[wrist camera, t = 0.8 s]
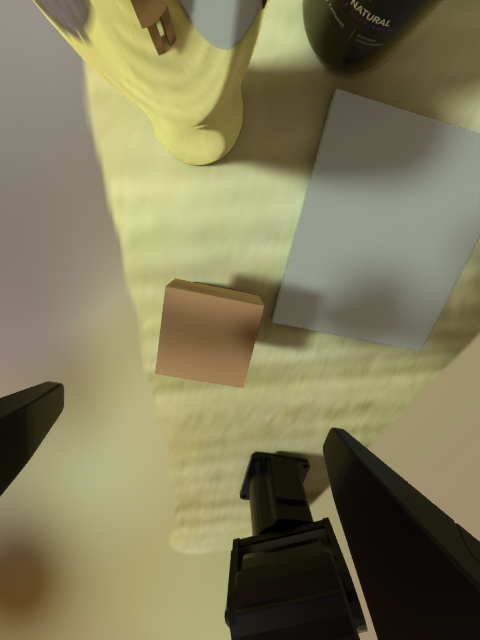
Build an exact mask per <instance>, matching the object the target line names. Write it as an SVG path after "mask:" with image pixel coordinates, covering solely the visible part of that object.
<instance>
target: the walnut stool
mask: <svg viewBox="0 0 480 640" xmlns="http://www.w3.org/2000/svg"><path fill="white" fill-rule="evenodd" d="M263 310H264V304H263V302H262V300H261V298H260V297H259V296H258V295H254V294H249V293H244V292H242V291H237V290H232V289H227V288H225V289H224V288H219V287H214V286H211V285H208V284H203V283H198V282H190V281H185V280H180V279H174V280H173V281H172V282H170V283H169V284H168V285H167V286H166V287H165V295H164V304H163V312H162V321H161V329H160V338H159V346H158V354H157V363H156V371H155V374H159V375H165V376H172V377H178V378H184V379H191V380H197V381H203V382H210V383H216V384H222V385H229V386H235V387H241V388H243V387H244V383H245V379H246V375H247V371H248V367H249V363H250V360H251V356H252V352H253V348H254V344H255V340H256V337H257V333H258V329H259V325H260V321H261V317H262V313H263Z"/></svg>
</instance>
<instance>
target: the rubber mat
mask: <svg viewBox="0 0 480 640" xmlns="http://www.w3.org/2000/svg"><path fill="white" fill-rule="evenodd" d="M479 237H480V134H479V133H476V132H473V131H470V130H467V129H464V128H461V127H457V126H454V125H451V124H448V123H445V122H442V121H438V120H435V119H432V118H429V117H426V116H423V115H419V114H416V113H413V112H410V111H407V110H404V109H400V108H397V107H394V106H391V105H388V104H385V103H381V102H378V101H375V100H372V99H369V98H366V97H363V96H359V95H356V94H353V93H350V92H347V91H344V90H340V89H337V90H336V91H335V92H334V94H333V97H332V101H331V104H330V108H329V112H328V115H327V119H326V122H325V126H324V130H323V133H322V137H321V141H320V144H319V148H318V152H317V155H316V159H315V162H314V166H313V170H312V173H311V177H310V181H309V184H308V188H307V192H306V195H305V199H304V203H303V206H302V210H301V213H300V217H299V221H298V224H297V228H296V232H295V235H294V239H293V243H292V246H291V250H290V253H289V257H288V261H287V264H286V268H285V272H284V275H283V279H282V283H281V286H280V290H279V293H278V297H277V301H276V304H275V308H274V312H273V315H272V319H271V321H272V323H277V324H282V325H287V326H293V327H298V328H303V329H308V330H313V331H319V332H324V333H329V334H334V335H339V336H344V337H350V338H355V339H360V340H365V341H370V342H376V343H381V344H386V345H391V346H396V347H402V348H407V349H412V350H417V351H421V350H422V348H423V346H424V344H425V342H426V340H427V338H428V336H429V334H430V332H431V331H432V329H433V327H434V325H435V323H436V321H437V319H438V317H439V315H440V313H441V311H442V309H443V307H444V305H445V303H446V301H447V299H448V297H449V295H450V293H451V291H452V289H453V287H454V285H455V284H456V282H457V280H458V278H459V276H460V274H461V272H462V270H463V268H464V266H465V264H466V262H467V260H468V258H469V256H470V254H471V252H472V250H473V248H474V246H475V244H476V242H477V240H478V238H479Z"/></svg>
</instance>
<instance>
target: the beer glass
mask: <svg viewBox="0 0 480 640" xmlns="http://www.w3.org/2000/svg"><path fill="white" fill-rule="evenodd" d="M33 1H34V3H35V4H36V5H37V6H38V8H39V9H40V10H41V12H42V13H43V14H44V15H45V16H46V17H47V19H48V20H49V21H50V22H51V23H52V24H53V26H54V27H55V28H56V29H57V30H58V31H59V32H60V33H61V35H62V36H63V37H64V38H65V39H66V40H67V41H68V42H69V44H70V45H71V46H72V47H73V48H74V49H75V50H76V51H77V52H78V54H79V55H80V56H81V57H82V58H83V59H84V60H85V61H86V62H87V63H88V64H89V65H90V66H91V67H92V68H93V69H94V70H95V71H96V72H97V73H98V74H99V75H101V76H102V77H103V78H104V79H105V80H106V81H107V82H108V83H109V84H110V85H112V86H113V87H114V88H115V89H116V90H117V91H118V92H119V93H121V94H122V95H123V96H125V97H126V98H127V99H128V100H130V101H131V102H132V103H134V104H135V105H136V106H137V107H139V108H140V109H141V110H143V111H144V112H145V113H147V114H148V115H149V118H150V121H151V124H152V127H153V130H154V132H155V134H156V136H157V138H158V140H159V141H160V143H161V144H162V145H163V147H164V148H165V149H166V150H167V151H168V152H169V153H170V154H171V155H173V156H174V157H176V158H177V159H179V160H181V161H183V162H185V163H189V164H193V165H206V164H210V163H213V162H215V161H217V160H219V159H221V158H222V157H223V156H225V155H226V154H227V153H228V152H229V151H230V149H231V148H232V147H233V145H234V144H235V142H236V140H237V138H238V135H239V133H240V130H241V126H242V120H243V99H242V93H241V89H240V85H241V82H242V80H243V78H244V75H245V73H246V70H247V68H248V65H249V63H250V60H251V58H252V55H253V53H254V50H255V47H256V44H257V41H258V38H259V34H260V31H261V28H262V25H263V22H264V19H265V15H266V12H267V9H268V5H269V1H270V0H33Z"/></svg>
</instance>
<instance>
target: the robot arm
mask: <svg viewBox="0 0 480 640" xmlns="http://www.w3.org/2000/svg"><path fill="white" fill-rule="evenodd" d="M63 407H64V386H63V384H62V383H57V382H50V381H49V382H45V383H42V384H39V385H36V386H33V387H30V388H27V389H25V390H22V391H19V392H16V393H13V394H10V395H7V396H5V397H2V398H0V496H1V495H2V494H3V492H4V491H5V490H6V489H7V488H8V486H9V485H10V484H11V483H12V481H13V480H14V479H15V477H16V476H17V475H18V474H19V473H20V471H21V470H22V469H23V468H24V466H25V465H26V464H27V463H28V461H29V460H30V458H31V457H32V456H33V454H34V452H35V451H36V450H37V448H38V447H39V445H40V444H41V442H42V441H43V439H44V438H45V436H46V435H47V433H48V432H49V430H50V429H51V427H52V426H53V424H54V423H55V421H56V420H57V419H58V417H59V415H60V414H61V412H62V410H63ZM323 454H324V459H325V463H326V468H327V472H328V477H329V481H330V486H331V490H332V494H333V498H334V502H335V505H336V509H337V511H338V515H339V518H340V521H341V524H342V528H343V531H344V534H345V537H346V540H347V543H348V546H349V550H350V553H351V556H352V559H353V562H354V565H355V568H356V571H357V575H358V578H359V581H360V584H361V587H362V591H363V594H364V597H365V600H366V603H367V607H368V610H369V613H370V616H371V619H372V622H373V625H374V629H375V632H376V635H377V638H378V640H480V542H479V541H478V540H477V539H476V538H474V537H473V536H472V535H471V534H470V533H468V532H467V531H466V530H465V529H464V528H462V527H461V526H460V525H459V524H457V523H455V522H454V520H453V519H451V518H450V517H449V516H448V515H447V514H445V513H444V512H443V511H442V510H441V509H439V508H438V507H437V506H436V505H434V504H433V503H432V502H431V501H430V500H428V499H427V498H426V497H425V496H424V495H422V494H421V493H420V492H419V491H418V490H416V489H415V488H414V487H413V486H412V485H410V484H409V483H408V482H407V481H405V480H404V479H403V478H402V477H400V476H399V475H398V474H397V473H396V472H395V471H393V470H392V469H391V468H390V467H389V466H387V465H386V464H385V463H384V462H382V461H381V460H380V459H379V458H378V457H376V456H375V455H374V454H373V453H372V452H370V451H369V450H368V449H367V448H366V447H364V446H363V445H362V444H361V443H360V442H358V441H357V440H356V439H355V438H354V437H352V436H351V435H350V434H349V433H348V432H346V431H345V430H344V429H340V428H331V429H330V431H329V433H328V435H327V438H326V440H325V442H324V445H323ZM255 458H256V459H255ZM309 467H310V464H309V462H308V460H305V459H297V458H289V457H281V456H274V455H266V454H258V453H254V454H252V455H251V458H250V461H249V464H248V467H247V471H246V474H245V477H244V480H243V484H242V487H241V490H240V498H241V499H244V500H250V509H251V522H252V534H253V536H251V537H247V538H243V539H240V538H237V539H233V549H232V551H231V560H230V571H229V583H228V594H227V605H226V609H225V622H226V624H227V626H228V627H229V628H230V632H231V639H232V640H360V638H359V635H358V633H362V632H367V626H366V622H365V618H364V615H363V612H362V609H361V605H360V602H359V599H358V596H357V593H356V590H355V587H354V584H353V582H352V578H351V576H350V573H349V570H348V567H347V565H346V562H345V560H344V557H343V554H342V552H341V549H340V547H339V544H338V542H337V539H336V536H335V534H334V531H333V528H332V526H331V523H330V521H329V518H328V517H327V518H323V519H322V520H320V521H316V522H313V519H312V515H311V512H310V508H309V505H308V501H307V497H306V493H305V490H304V486H303V482H304V479H305V477H306V475H307V472H308V470H309Z"/></svg>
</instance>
